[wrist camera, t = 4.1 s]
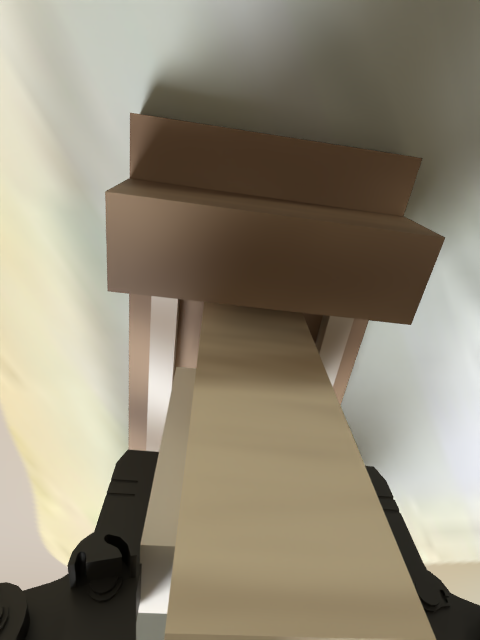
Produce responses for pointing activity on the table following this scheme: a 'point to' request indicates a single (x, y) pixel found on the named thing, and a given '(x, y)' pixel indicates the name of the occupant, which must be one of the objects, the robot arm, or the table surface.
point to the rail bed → (256, 246)
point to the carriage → (279, 500)
